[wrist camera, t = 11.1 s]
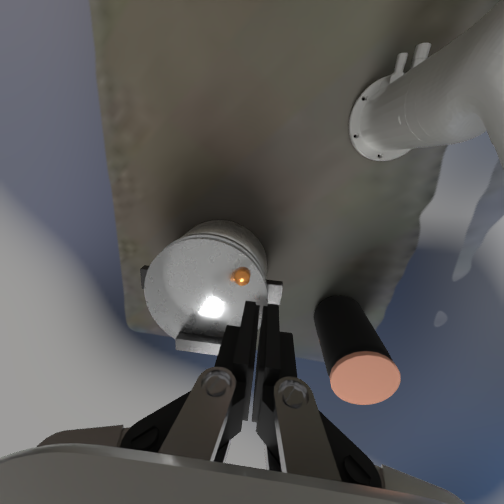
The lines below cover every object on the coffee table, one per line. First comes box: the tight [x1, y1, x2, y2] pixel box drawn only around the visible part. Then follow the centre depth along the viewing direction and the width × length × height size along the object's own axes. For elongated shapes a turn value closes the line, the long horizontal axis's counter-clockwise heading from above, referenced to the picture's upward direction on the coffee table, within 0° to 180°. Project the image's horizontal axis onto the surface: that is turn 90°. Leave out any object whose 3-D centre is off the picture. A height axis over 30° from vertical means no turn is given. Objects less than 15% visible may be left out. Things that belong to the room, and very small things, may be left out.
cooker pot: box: [140, 220, 283, 305], centre depth 46 cm, size 21×26×12 cm
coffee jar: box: [314, 296, 400, 405], centre depth 46 cm, size 11×11×18 cm
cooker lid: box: [144, 237, 268, 355], centre depth 39 cm, size 21×21×3 cm
